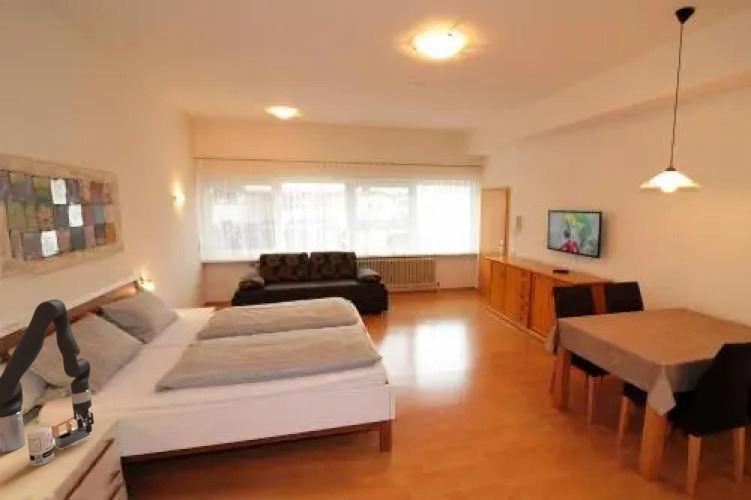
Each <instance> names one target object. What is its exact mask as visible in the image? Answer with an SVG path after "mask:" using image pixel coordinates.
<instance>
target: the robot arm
mask: <svg viewBox="0 0 751 500" xmlns="http://www.w3.org/2000/svg"><path fill="white" fill-rule="evenodd" d="M51 323H53V325H54V328H55V334H56V337H55V339H56V343H57V347H58V350H59V353H60V354H61V356H62V363H63V365H62V366H63V370H64V374H66V376H68V377H69V378H74V379H73V380H72V381H71V382H70V391H71V405H72V411H73V412H72V413H73V416H74V419H73V420H74V421H75V422H76V425H77V428H80V427H82V426H86V432H87V433H89V432H90V433H91V432H92V431H93V426H92V425H94V424H95V421H94V413H93V411H90V410H89V409H90V408H91V407H92V405H93V404H92V396H91V395H92V394H91V390H90V383H89V379H90V374H91V363H90V361H89V360H88V359H87V358H83V357H82V358H79V359H78V356H79V354H80V353H81V350H80V347H79V345H78V342H77V341H76V338H75V336H74V333H73V331H72V328H71V323H70V321H69V316H68V312H67V307H66V305H65V303H64V302H63V301H62V300H60V299H57V298H56V299H50V300H46V301H43V302H40V303H39V304H37V306H36V308H35V310H34V312H33V314H32V317H31V320H30V322H29V324H28V326H27V328H26V329H25V331H24V332H23V334H22V336H21V338H20V340H19V342H17V344H16V346H15V348H14V350H13V352H12V354H11V356H10V358H9V360H8V361H7V364H6V365H5V368H4V369H3V372H2V374H1V375H0V454H5V453H10V452H13V451H17V450H18V449H20V448H22V447H23V446H24V445H25V444H26V437H25V428H24V427H25V426H24V419H23V417H24V416H23V410H22V409H23V407H22V406H23V402H24V398H23V397H24V396H23V395H24V394H23V385H22V383H21V381H20V380H21V379H22V377H23V376H24V374H25V373H26V372H27V371H28V369H29V368H30V367H31V366H32V364H34V362H35V360H36V359H37V357H38V356H39V354H40V352H41V350H42V349H43V347H44V343H45V334H46V331H47V330H48V328H49V327H50V325H51Z"/></svg>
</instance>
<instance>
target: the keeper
mask: <svg viewBox="0 0 751 500" xmlns="http://www.w3.org/2000/svg"><path fill="white" fill-rule="evenodd" d="M72 420H74V415H71V416H69V417H66V418H64V419H62V420H60V421H59V422H56V423H55V424H52V425H51V426H50V428H51V429H52V437H53V438H55V437H57V436H59V433H60V428H59V427H60V426H61V427H62V425H64V424H65V425H66V423H68V422H72Z"/></svg>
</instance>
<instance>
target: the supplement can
mask: <svg viewBox="0 0 751 500" xmlns="http://www.w3.org/2000/svg"><path fill="white" fill-rule="evenodd" d="M27 443H28V444H27V445H28V455H29V464H30V465H31V466H32V467H39V466H43V465H46V464H49V463H50V462H51V461H52V460H53V459H54V458H55V450H54V449H55V448H54V447H55V446H54V445H53V437H52V429H51V426H49V425H41V426H38V427H35V428H32V429H31V430H30V431H29V432H28V434H27Z"/></svg>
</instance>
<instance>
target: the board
mask: <svg viewBox="0 0 751 500" xmlns="http://www.w3.org/2000/svg"><path fill="white" fill-rule="evenodd" d="M75 429H76V428H74V427H72V431H73V430H75ZM66 431H67V429H66V430H64V431H60V432H59V435H62V433H63V434H64V432H66ZM88 437H89V438H90V437H91V436H90V435H89V436H87V437H85V438H82V439H80V440H78V441H76V442H75V443H76V444H78V443H80V442H82V441H84V439H85V440H87V439H88ZM86 438H87V439H86ZM77 442H78V443H77ZM75 443H73V445H75ZM73 445H72V444H71V446H73ZM68 446H69V447H71V446H70V445H68ZM68 446H66V447H67V448H69V447H68ZM53 447H55V448H57V449H58V450H61V451H62V450H65V449H67V448H66V447H64V448H65V449H64V448H62V449H61V448H59V447H57V446H56V445H55V438H53Z"/></svg>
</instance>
